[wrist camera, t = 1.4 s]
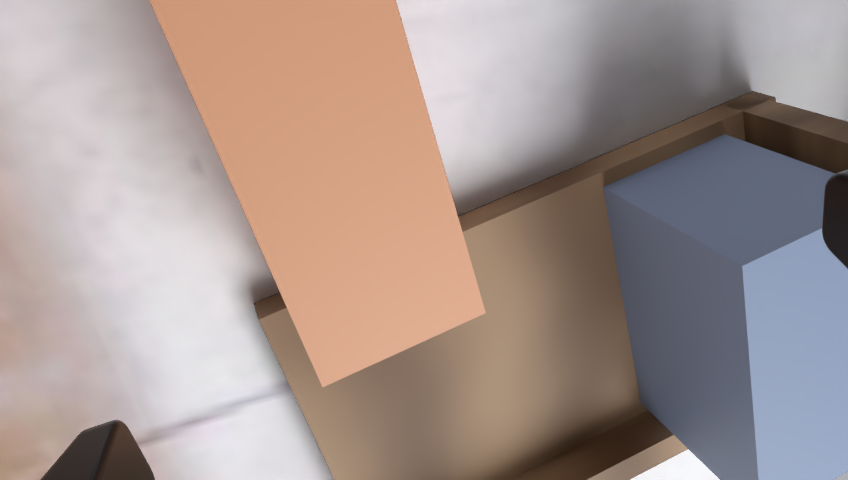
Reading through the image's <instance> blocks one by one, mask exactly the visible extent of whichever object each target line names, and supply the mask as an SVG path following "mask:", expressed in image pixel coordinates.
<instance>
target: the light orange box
mask: <svg viewBox="0 0 848 480" xmlns="http://www.w3.org/2000/svg"><path fill="white" fill-rule="evenodd" d="M149 1H150V3H151V5H152V8H153V10H154V12H155V14H156V16H157V19H158V21H159V23H160V25H161V28H162V30H163V32H164V34H165V37H166V39H167V41H168V43H169V46H170V48H171V50H172V52H173V54H174V57H175V59H176V61H177V63H178V66H179V68H180V70H181V72H182V75H183V77H184V79H185V81H186V83H187V86H188V88H189V90H190V92H191V95H192V97H193V99H194V101H195V104H196V106H197V108H198V110H199V113H200V115H201V117H202V119H203V121H204V124H205V126H206V128H207V130H208V133H209V135H210V137H211V139H212V142H213V144H214V146H215V148H216V150H217V153H218V155H219V157H220V159H221V162H222V164H223V166H224V168H225V171H226V173H227V175H228V177H229V180H230V182H231V184H232V186H233V188H234V191H235V193H236V195H237V197H238V200H239V202H240V204H241V206H242V209H243V211H244V213H245V215H246V218H247V220H248V222H249V224H250V226H251V229H252V231H253V233H254V235H255V238H256V240H257V242H258V244H259V247H260V249H261V251H262V253H263V255H264V258H265V260H266V262H267V264H268V267H269V269H270V271H271V273H272V276H273V278H274V280H275V282H276V285H277V287H278V289H279V291H280V293H281V296H282V298H283V300H284V302H285V305H286V307H287V309H288V311H289V314H290V316H291V318H292V320H293V322H294V325H295V327H296V329H297V331H298V334H299V336H300V338H301V340H302V343H303V345H304V347H305V349H306V352H307V354H308V356H309V358H310V360H311V363H312V365H313V367H314V369H315V372H316V374H317V376H318V378H319V381H320V383H321V385H322V387H325V386H327V385H329V384H331V383H334V382H336V381H338V380H340V379H342V378H344V377H347V376H349V375H351V374H353V373H355V372H358V371H360V370H362V369H364V368H366V367H369V366H371V365H373V364H375V363H377V362H380V361H382V360H384V359H386V358H388V357H391V356H393V355H395V354H397V353H399V352H402V351H404V350H406V349H408V348H410V347H412V346H415V345H417V344H419V343H421V342H423V341H426V340H428V339H430V338H432V337H434V336H437V335H439V334H441V333H443V332H445V331H448V330H450V329H452V328H454V327H456V326H459V325H461V324H463V323H465V322H467V321H470V320H472V319H474V318H476V317H478V316H480V315H483V314H485V313H486V312H485V308H484V305H483V301H482V298H481V294H480V291H479V288H478V284H477V281H476V277H475V274H474V270H473V267H472V263H471V260H470V256H469V253H468V249H467V246H466V242H465V239H464V235H463V232H462V229H461V225H460V222H459V218H458V215H457V211H456V208H455V204H454V201H453V197H452V194H451V190H450V187H449V183H448V180H447V177H446V173H445V170H444V166H443V163H442V159H441V156H440V152H439V149H438V145H437V142H436V138H435V135H434V131H433V128H432V124H431V121H430V118H429V114H428V111H427V107H426V104H425V100H424V97H423V93H422V90H421V86H420V83H419V79H418V76H417V72H416V69H415V65H414V62H413V59H412V55H411V52H410V48H409V45H408V41H407V38H406V34H405V31H404V27H403V24H402V20H401V17H400V13H399V10H398V7H397V3H396V0H149Z"/></svg>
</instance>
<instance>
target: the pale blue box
mask: <svg viewBox="0 0 848 480" xmlns="http://www.w3.org/2000/svg"><path fill="white" fill-rule="evenodd" d="M834 174H835V173H832V172H829V171H827V170H824V169H821V168H818V167H815V166H813V165H810V164H807V163H804V162H801V161H799V160H796V159H793V158H790V157H787V156H785V155H782V154H779V153H776V152H773V151H771V150H768V149H765V148H762V147H759V146H757V145H754V144H751V143H748V142H745V141H743V140H740V139H737V138H734V137H731V136H729V135H726V134H724V135H722V136H719V137H717V138H715V139H712V140H710V141H708V142H705V143H703V144H701V145H699V146H696V147H694V148H692V149H689V150H687V151H685V152H682V153H680V154H678V155H676V156H673V157H671V158H669V159H666V160H664V161H662V162H659V163H657V164H655V165H653V166H650V167H648V168H646V169H643V170H641V171H639V172H636V173H634V174H632V175H630V176H627V177H625V178H623V179H620V180H618V181H616V182H613V183H611V184H609V185H607V186H604V187H603V190H604V195H605V201H606V207H607V212H608V218H609V224H610V230H611V235H612V241H613V247H614V252H615V258H616V264H617V270H618V275H619V281H620V287H621V292H622V298H623V304H624V310H625V315H626V321H627V327H628V332H629V338H630V344H631V350H632V355H633V361H634V367H635V372H636V378H637V384H638V390H639V395H640V401H641V404H642V405H643V406H644V407H646V408H647V409H648V410H649V411H650V412H651V413H652V414H653V415H654V416H655V417H656V418H657V419H658V420H659V421H660V422H661V423H662V424H663V425H664V426H665V427H666V428H667V429H668V430H669V431H670V432H671V433H672V434H674V435H675V436H676V437H677V438H678V439H679V440H680V441H681V442H682V443H683V444H684V445H685V446H686V447H687V448H688V449H689V450H690V451H691V452H692V453H693V454H694V455H695V456H696V457H697V458H698V459H699V460H700V461H702V462H703V463H704V464H705V465H706V466H707V467H708V468H709V469H710V470H711V471H712V472H713V473H714V474H715V475H716V476H717V477H718V478H719V479H720V480H834V479H836V478H837V477H839V476H841V475H843V474H844V473H846V472H848V269H847V268H846V267H845V266H844V265H843V264H842V263H841V262H840V261H839V260H838V259H837V258H836V257H835V255H834V254H833V253H832V252H831V251H830V250H829V249H828V247H827V246H826V244H825V242H824V239H823V235H822V222H823V207H824V191H825V185H826V183H827V181H828V179H829V178H830V177H831V176H832V175H834Z"/></svg>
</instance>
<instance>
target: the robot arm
mask: <svg viewBox="0 0 848 480" xmlns="http://www.w3.org/2000/svg"><path fill="white" fill-rule="evenodd" d="M822 235H823V239H824V242H825V244H826V246H827V247H828V249H829V250H830V251H831V252H832V253H833V254H834V255H835V257H836V258H837V259H838V260H839V261H840V262H841V263H842V264H843V265H844V266H845V267H846V268H847V269H848V170H845V171H842V172H839V173H836V174H834V175H832V176H831V177H830V178H829V179H828V181H827V183H826V185H825V191H824V207H823V222H822ZM41 480H155V478H154V475H153V472H152V470H151V468H150V466H149V464H148V463H147V461H146V459H145V457H144V455H143V454H142V452H141V450H140V448H139V446H138V445H137V443H136V441H135V439H134V437H133V436H132V434H131V432H130V430H129V429H128V427H127V426H126V425H125V424H124V423H123V422H122V421H120V420H113V421H110V422H107V423H104V424H101V425H98V426H95V427H92V428H89V429H86V430H84V431H82V432H81V433H80V434H79V435H78V436H77V437H76V439H75V440H74V441H73V442H72V443H71V444H70V446H69V447H68V448H67V449H66V450H65V451H64V453H63V454H62V455H61V456H60V457H59V459H58V460H57V461H56V462H55V463H54V464H53V466H52V467H51V468H50V469H49V470H48V472H47V473H46V474H45V475H44V476H43V477H42V479H41Z"/></svg>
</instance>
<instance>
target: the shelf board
mask: <svg viewBox="0 0 848 480" xmlns="http://www.w3.org/2000/svg"><path fill="white" fill-rule="evenodd" d="M724 134H726V135H729V136H731V137H734V138H737V139H740V140H743V141H745V142H748V143H751V144H754V145H757V146H759V147H762V148H765V149H768V150H771V151H773V152H776V153H779V154H782V155H785V156H787V157H790V158H793V159H796V160H799V161H801V162H804V163H807V164H810V165H813V166H815V167H818V168H821V169H824V170H827V171H829V172H832V173H835V174H836V173H839V172H842V171H845V170H848V122H847V121H843V120H839V119H836V118H832V117H828V116H825V115H821V114H818V113H814V112H810V111H807V110H803V109H799V108H796V107H792V106H789V105H785V104H781V103H778V102H776V99H775V97H772V96H769V95H765V94H761V93H757V92H754V91H752V92H750V93H747V94H745V95H743V96H740V97H738V98H736V99H733V100H731V101H729V102H726V103H724V104H722V105H719V106H717V107H715V108H712V109H710V110H707V111H705V112H703V113H700V114H698V115H696V116H693V117H691V118H689V119H686V120H684V121H682V122H679V123H677V124H675V125H672V126H670V127H668V128H665V129H663V130H661V131H658V132H656V133H653V134H651V135H649V136H646V137H644V138H642V139H639V140H637V141H635V142H632V143H630V144H628V145H625V146H623V147H621V148H618V149H616V150H614V151H611V152H609V153H606V154H604V155H602V156H599V157H597V158H595V159H592V160H590V161H588V162H585V163H583V164H581V165H578V166H576V167H574V168H571V169H569V170H567V171H564V172H562V173H559V174H557V175H555V176H552V177H550V178H548V179H545V180H543V181H541V182H538V183H536V184H534V185H531V186H529V187H527V188H524V189H522V190H520V191H517V192H515V193H512V194H510V195H508V196H505V197H503V198H501V199H498V200H496V201H494V202H491V203H489V204H487V205H484V206H482V207H480V208H477V209H475V210H473V211H470V212H468V213H466V214H463V215H461V216H458V218H459V222H460V225H461V229H462V232H463V235H464V239H465V242H466V246H467V249H468V253H469V256H470V260H471V263H472V267H473V270H474V274H475V277H476V281H477V284H478V288H479V291H480V294H481V298H482V301H483V305H484V308H485V312H486V313H485V314H483V315H480V316H478V317H476V318H474V319H472V320H470V321H467V322H465V323H463V324H461V325H459V326H456V327H454V328H452V329H450V330H448V331H445V332H443V333H441V334H439V335H437V336H434V337H432V338H430V339H428V340H426V341H423V342H421V343H419V344H417V345H415V346H412V347H410V348H408V349H406V350H404V351H402V352H399V353H397V354H395V355H393V356H391V357H388V358H386V359H384V360H382V361H380V362H377V363H375V364H373V365H371V366H369V367H366V368H364V369H362V370H360V371H358V372H355V373H353V374H351V375H349V376H347V377H344V378H342V379H340V380H338V381H336V382H334V383H331V384H329V385H327V386H325V387H322V385H321V383H320V381H319V378H318V376H317V374H316V372H315V369H314V367H313V365H312V363H311V360H310V358H309V356H308V354H307V352H306V349H305V347H304V345H303V343H302V340H301V338H300V336H299V334H298V331H297V329H296V327H295V325H294V322H293V320H292V318H291V316H290V314H289V311H288V309H287V307H286V305H285V302H284V300H283V298H282V296H281V293H278V294H275V295H273V296H271V297H268V298H266V299H263V300H261V301H259V302H256V303H254V305H255V309H256V313H257V316H258V320H259V322H260V324H261V326H262V328H263V330H264V332H265V335H266V337H267V339H268V341H269V343H270V345H271V347H272V349H273V351H274V353H275V356H276V358H277V360H278V362H279V364H280V366H281V368H282V370H283V372H284V374H285V377H286V379H287V381H288V383H289V385H290V387H291V389H292V391H293V393H294V396H295V398H296V400H297V402H298V404H299V406H300V408H301V410H302V412H303V414H304V417H305V419H306V421H307V423H308V425H309V427H310V429H311V431H312V433H313V435H314V438H315V440H316V442H317V444H318V446H319V448H320V450H321V452H322V454H323V457H324V459H325V461H326V463H327V465H328V467H329V469H330V471H331V473H332V475H333V478H334V480H630V479H632V478H634V477H635V476H637V475H639V474H641V473H643V472H645V471H647V470H649V469H651V468H653V467H655V466H657V465H658V464H660V463H662V462H664V461H666V460H668V459H670V458H672V457H674V456H676V455H678V454H679V453H681V452H683V451H685V450H687V449H688V448H687V447H686V446H685V445H684V444H683V443H682V442H681V441H680V440H679V439H678V438H677V437H676V436H675V435H674V434H672V433H671V432H670V431H669V430H668V429H667V428H666V427H665V426H664V425H663V424H662V423H661V422H660V421H659V420H658V419H657V418H656V417H655V416H654V415H653V414H652V413H651V412H650V411H649V410H648V409H647V408H646V407H644V406H643V405H642V404H641V401H640V395H639V390H638V384H637V378H636V372H635V367H634V361H633V355H632V350H631V344H630V338H629V332H628V327H627V321H626V315H625V310H624V304H623V298H622V292H621V287H620V281H619V275H618V270H617V264H616V258H615V252H614V247H613V241H612V235H611V230H610V224H609V218H608V212H607V207H606V201H605V195H604V190H603V187H604V186H607V185H609V184H611V183H613V182H616V181H618V180H620V179H623V178H625V177H627V176H630V175H632V174H634V173H636V172H639V171H641V170H643V169H646V168H648V167H650V166H653V165H655V164H657V163H659V162H662V161H664V160H666V159H669V158H671V157H673V156H676V155H678V154H680V153H682V152H685V151H687V150H689V149H692V148H694V147H696V146H699V145H701V144H703V143H705V142H708V141H710V140H712V139H715V138H717V137H719V136H722V135H724Z"/></svg>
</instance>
